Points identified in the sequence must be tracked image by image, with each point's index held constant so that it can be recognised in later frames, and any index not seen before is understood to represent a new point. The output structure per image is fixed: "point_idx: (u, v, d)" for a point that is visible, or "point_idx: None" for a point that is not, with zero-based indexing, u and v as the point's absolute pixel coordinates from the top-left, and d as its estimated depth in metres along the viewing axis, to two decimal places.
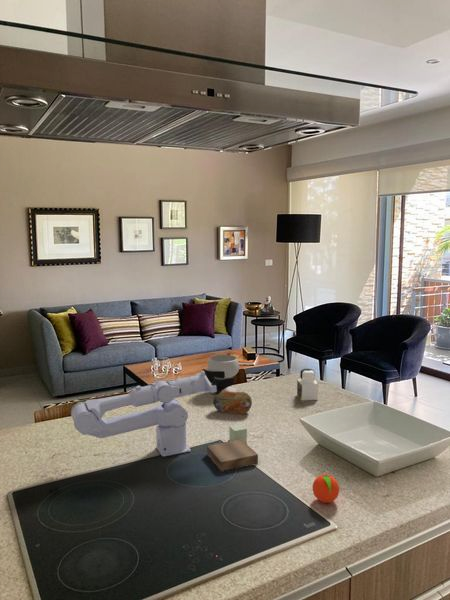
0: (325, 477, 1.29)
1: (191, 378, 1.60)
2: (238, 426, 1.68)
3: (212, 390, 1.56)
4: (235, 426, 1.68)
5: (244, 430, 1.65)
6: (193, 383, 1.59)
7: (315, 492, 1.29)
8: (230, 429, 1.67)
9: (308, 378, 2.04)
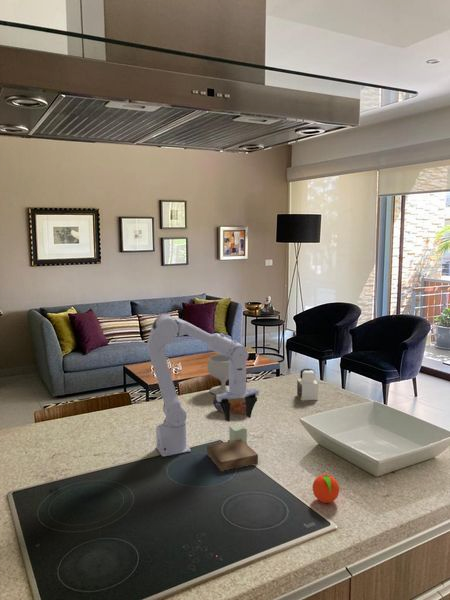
0: (325, 477, 1.29)
1: (238, 383, 1.61)
2: (238, 426, 1.68)
3: (217, 396, 1.62)
4: (235, 426, 1.68)
5: (244, 430, 1.65)
6: (232, 382, 1.62)
7: (315, 492, 1.29)
8: (230, 429, 1.67)
9: (308, 378, 2.04)
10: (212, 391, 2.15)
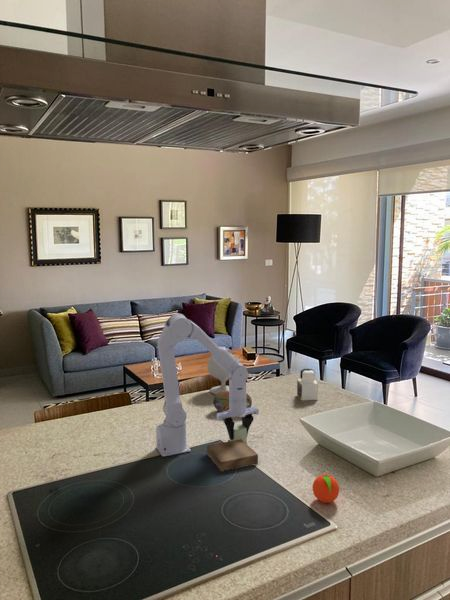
0: (325, 477, 1.29)
1: (238, 402, 1.62)
2: (238, 425, 1.68)
3: (217, 415, 1.63)
4: (235, 426, 1.67)
5: (244, 430, 1.65)
6: (232, 402, 1.63)
7: (315, 492, 1.29)
8: None
9: (308, 378, 2.04)
10: (212, 391, 2.15)
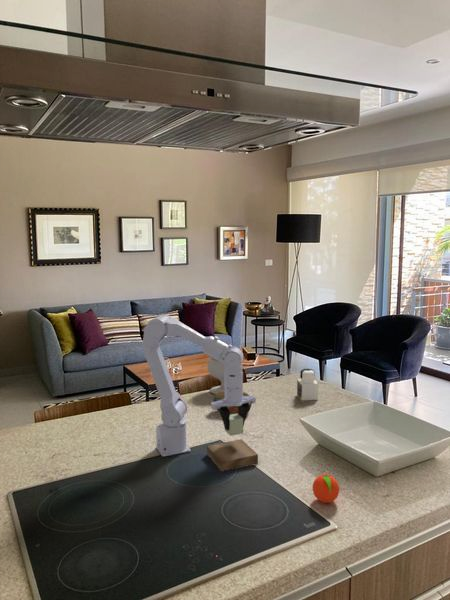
0: (325, 477, 1.29)
1: (234, 390, 1.53)
2: (233, 415, 1.59)
3: (212, 404, 1.54)
4: (231, 416, 1.58)
5: (240, 420, 1.56)
6: (228, 390, 1.54)
7: (315, 492, 1.29)
8: None
9: (308, 378, 2.04)
10: (212, 391, 2.15)
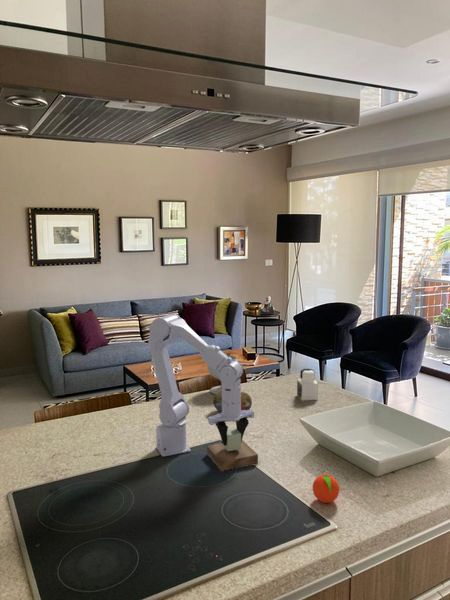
0: (325, 477, 1.29)
1: (232, 405, 1.49)
2: (231, 430, 1.55)
3: (209, 419, 1.50)
4: (229, 430, 1.54)
5: (238, 435, 1.52)
6: (225, 404, 1.50)
7: (315, 492, 1.29)
8: None
9: (308, 378, 2.04)
10: (212, 391, 2.15)
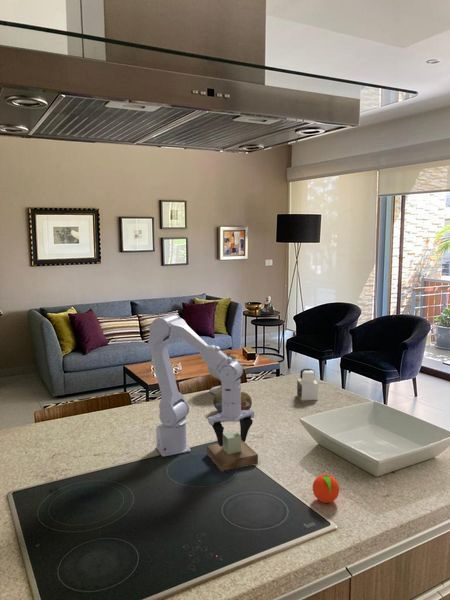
0: (325, 477, 1.29)
1: (232, 405, 1.49)
2: (231, 433, 1.55)
3: (209, 419, 1.50)
4: (228, 433, 1.54)
5: (238, 438, 1.52)
6: (225, 404, 1.50)
7: (315, 492, 1.29)
8: (223, 436, 1.54)
9: (308, 378, 2.04)
10: (212, 391, 2.15)
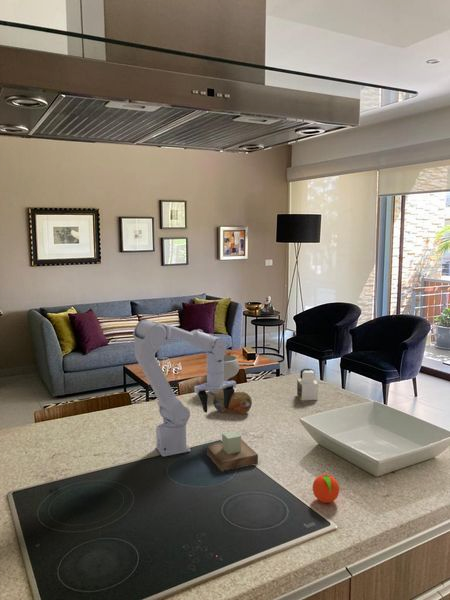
0: (325, 477, 1.29)
1: (215, 375, 1.66)
2: (231, 433, 1.55)
3: (194, 388, 1.67)
4: (228, 433, 1.54)
5: (238, 438, 1.52)
6: (209, 374, 1.66)
7: (315, 492, 1.29)
8: (223, 436, 1.54)
9: (308, 378, 2.04)
10: (212, 391, 2.15)
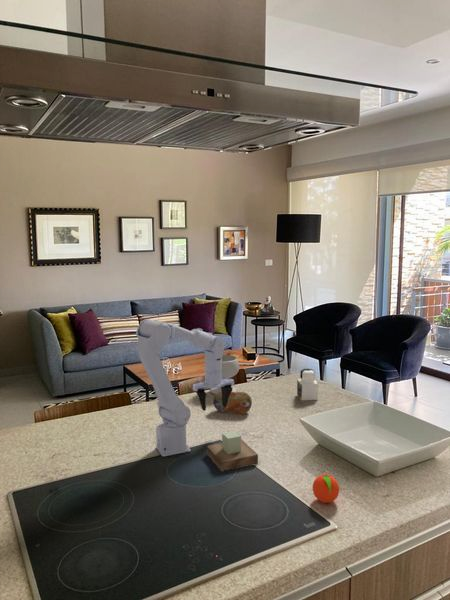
0: (325, 477, 1.29)
1: (214, 373, 1.68)
2: (231, 433, 1.55)
3: (193, 386, 1.68)
4: (228, 433, 1.54)
5: (238, 438, 1.52)
6: (208, 373, 1.68)
7: (315, 492, 1.29)
8: (223, 436, 1.54)
9: (308, 378, 2.04)
10: (212, 391, 2.15)
